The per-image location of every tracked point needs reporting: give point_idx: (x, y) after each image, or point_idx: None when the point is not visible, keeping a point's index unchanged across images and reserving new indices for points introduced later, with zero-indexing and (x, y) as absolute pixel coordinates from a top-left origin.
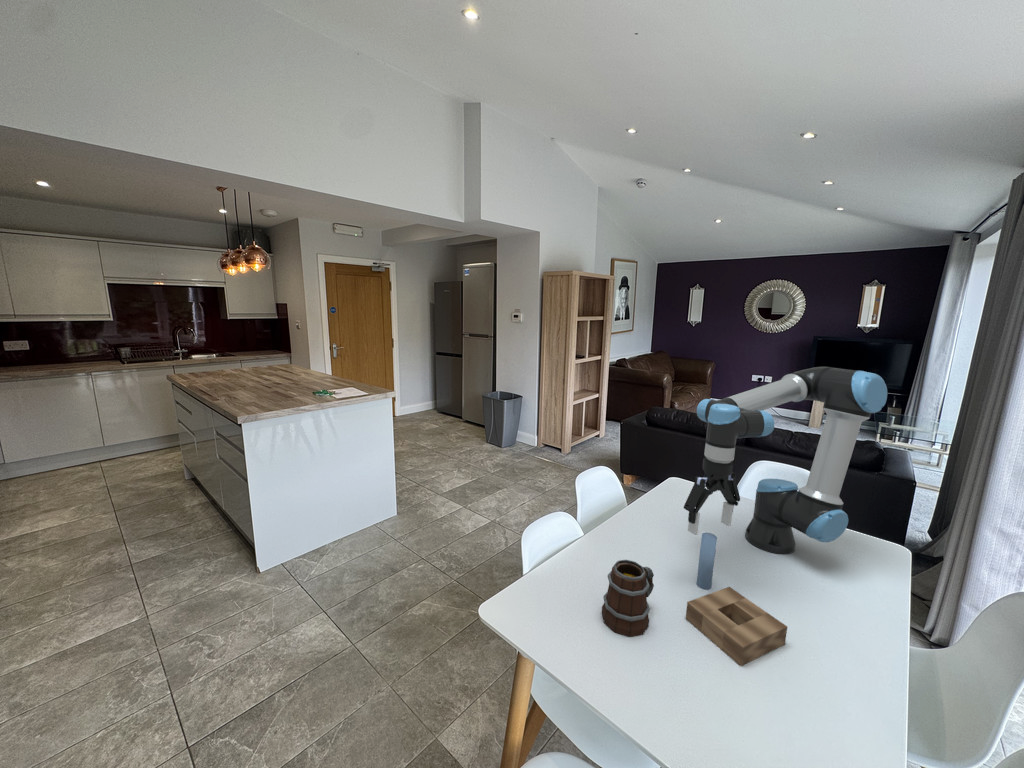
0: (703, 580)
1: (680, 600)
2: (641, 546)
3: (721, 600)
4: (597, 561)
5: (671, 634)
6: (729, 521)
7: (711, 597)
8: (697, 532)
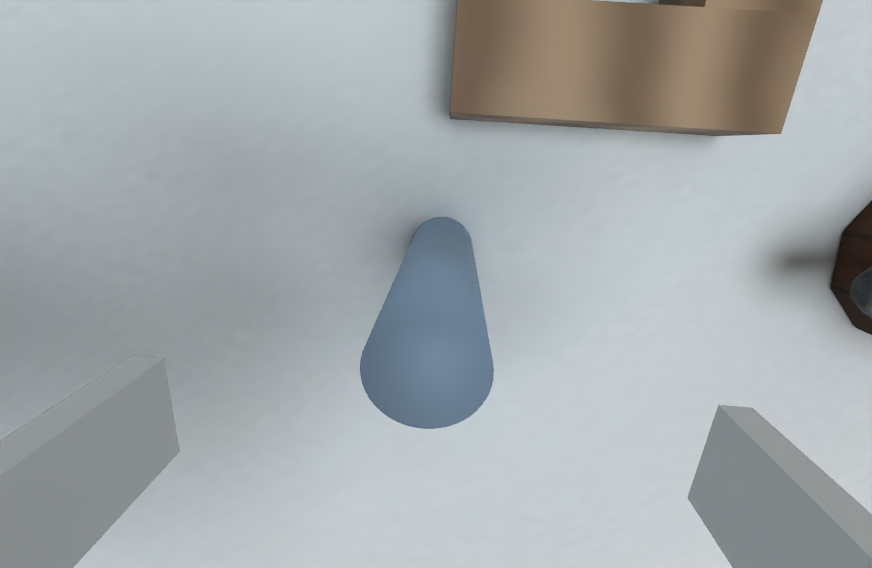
0: (470, 242)
1: (623, 227)
2: (457, 517)
3: (607, 48)
4: (693, 524)
5: (863, 97)
6: (108, 398)
7: (630, 95)
8: (739, 426)
